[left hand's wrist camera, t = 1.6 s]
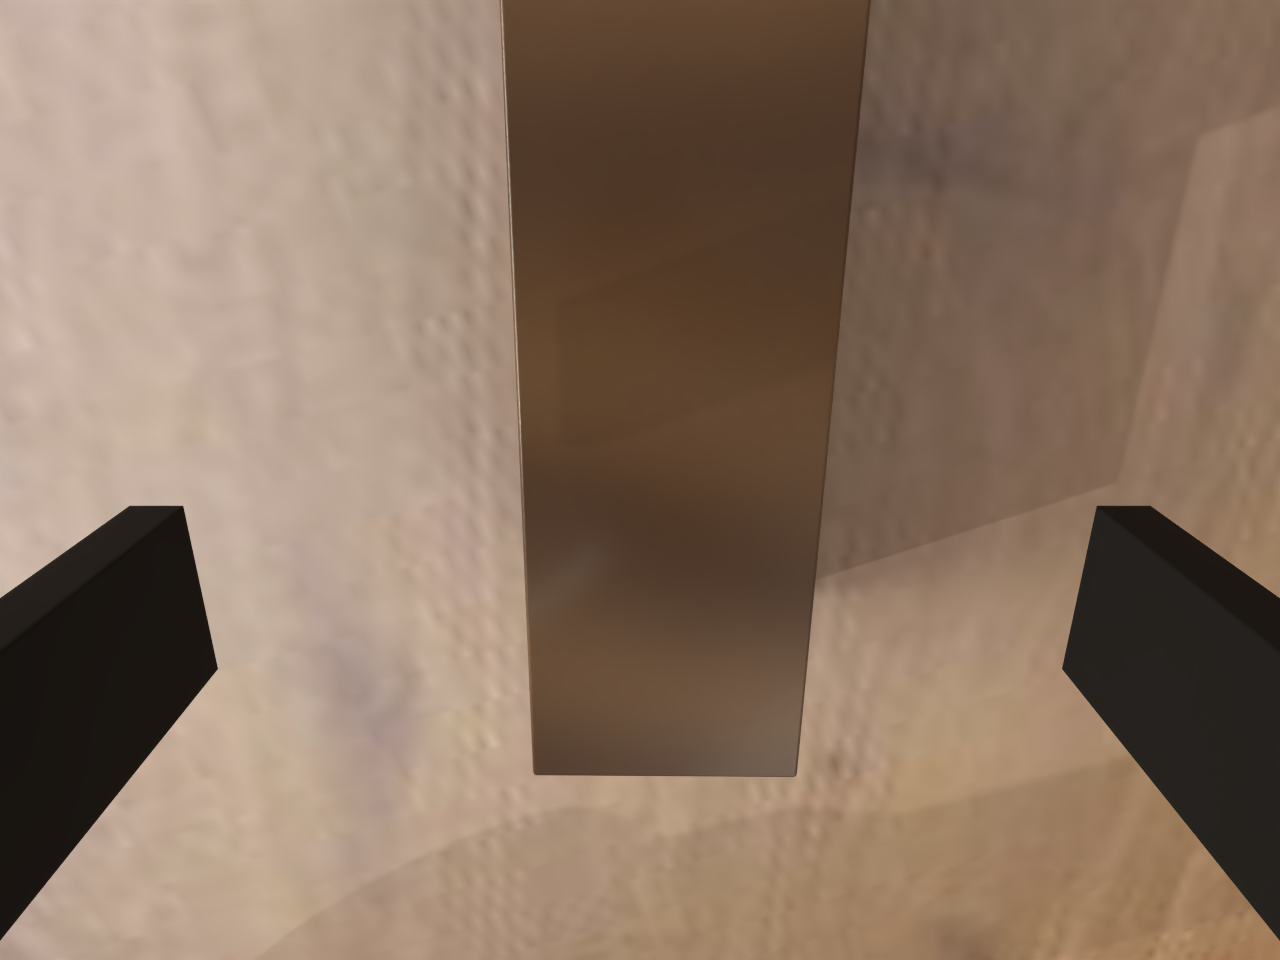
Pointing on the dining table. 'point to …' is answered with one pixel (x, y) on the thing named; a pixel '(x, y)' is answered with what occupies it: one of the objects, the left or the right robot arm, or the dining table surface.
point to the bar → (675, 365)
